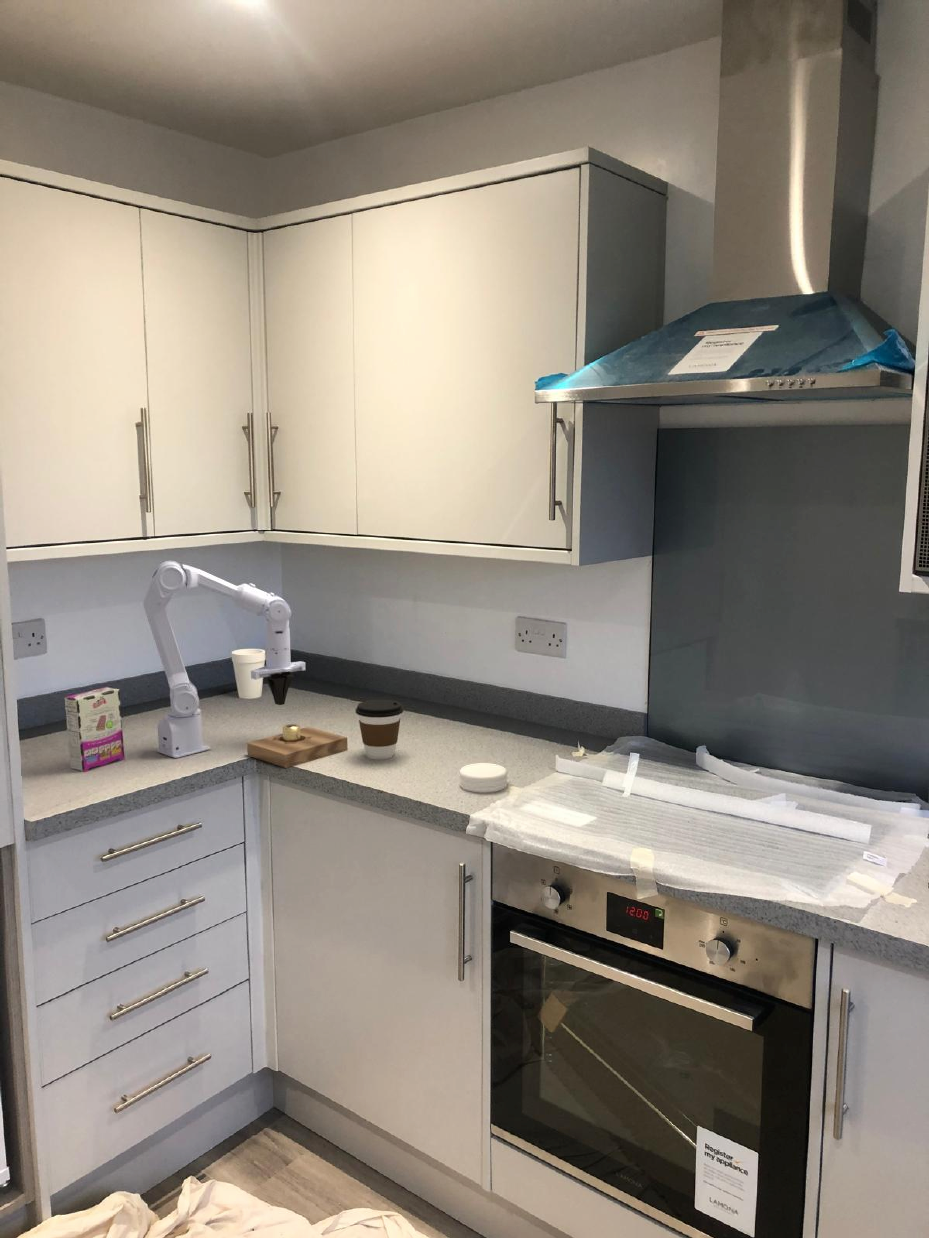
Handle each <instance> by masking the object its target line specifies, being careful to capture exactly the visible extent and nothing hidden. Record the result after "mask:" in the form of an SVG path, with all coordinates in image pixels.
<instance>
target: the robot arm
mask: <svg viewBox="0 0 929 1238" xmlns="http://www.w3.org/2000/svg"><path fill="white" fill-rule="evenodd" d="M184 586H185V587H186V589H192V588H193V589H194V588H198V587H201V588H203V589H205V590H207V591H210V592H213V593H216V594H218V595H221V596H223V597H227V598H229V599H231V600H232V603H233V605H234V606H235V607H237V608H239V609H241V610H244V611H246V612H248V613H251V614H253V615H256V616H258V617H262V616H263V617H265V630H264V632H265V636H264V637H265V640H264V641H265V658H266V660H265V662H266V663H265V665H264V667H262V668H259V669H255V670H251V679H255V680H257V679H259V678H263V679H264V680H265V682H266V684H267V685H268V687H269V689H270V691H271V694H272V697H273V701H274V704H275V705H279V706H282V705H285V703H286V699H287V695H288V691H289V689H290V686H291V684H292V682H293V680H294V674H293V673H294V672H298V671H299V672H300V671H306V669H307V668H306V662H304V661H302V660H300V661H292V662H291V630H290V621H289V620H290V619H291V616H292V610H291V606H290V605H289V603H287V601H286V600H284V599H283V598H281V597H280V596H279V595H275V593H273V592H270V591H269V593H268V592H266V591H264V590H261V589H258V588H257V587H256V585H255V584H253V583H251V582H249V584H247V583H241V584H239V585H235V584H233V583H231V582H228V581H227V580H224V579H222V578H220V577H217V576H215V575H213V574H210V573H209V572H206V571H204V570H202V569H199V568H196V567H193V566H191V565H188V564H183V563H182V564H180V563H179V562H177V561H174V560H166V561H163V562H161V563H160V564H159V565H158V566H157V567H156V569H155V570H154V572H153V573H152V574H151V577H150V581H149V584H148V586H147V589H146V592H145V595H144V599H143V603H142V604H143V610H144V612H145V615H146V617H147V621H148V624H149V628H150V629H151V630H150V631H151V632H152V636H153V639H154V640H153V641H154V643H155V645H156V649H157V651H158V654H159V658H160V661H161V664H162V667H163V670H164V673H165V677H166V679H167V682H168V687H169V699H170V707H171V708H170V709H169V710H168V714H167V716H165V717H162V718H161V719H159V721H158V723H157V739H158V741H157V743H158V749H157V753H160V754H163V755H165V756H168V757H171V758H174V759H178V758H181V757H186V756H188V755H189V756H190V755H192V754H197V753H201V752H205V751H209V750H211V747H210V746H208V745H204V744H203V728H202V726H203V725H202V709H200V708H199V706H200V698H199V695H198V690H197V687H196V686H195V685H194V683H192V682H191V680H190V679H189V674H188V673H187V670H186V667H185V664H184V660H183V658H182V655H181V651H180V648H179V645H178V642H177V639H176V636H175V632H174V629H173V626H172V624H171V620H170V617H169V614H168V611H167V608H166V607H167V606H168V604H169V603H170V601H171V600H172V598H173V596H174V595H176V594H177V593H178V592H179V591H180V590H181V589H183V588H184Z"/></svg>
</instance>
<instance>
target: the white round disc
mask: <svg viewBox="0 0 929 1238" xmlns="http://www.w3.org/2000/svg"><path fill="white" fill-rule="evenodd" d="M458 779H459V786H460V788H462V789H463V790H465V791H467V792H473V793H481V794H486V793H495V792H499V791H502V790H504V789H505V788H506V787H507V786H508V770H507V768H505V767H504V766H502V765H499V764H495V763H491V762H489V763H487V762H479V763H477V762H476V763H470V764H467V765H464V766H462V767H461V768H460V770H459V778H458Z"/></svg>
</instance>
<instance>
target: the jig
mask: <svg viewBox="0 0 929 1238" xmlns="http://www.w3.org/2000/svg"><path fill="white" fill-rule="evenodd" d="M300 738H301V741H298V742H283V733H280V734H275V735H271V736H268V737H265V738H264V737H263V738H260V739H256V740H253V741H249V742H247V743H246V744H247V749H246V750H247V756H248V757H251V758H255V759H256V760H257V759H258V760H261V761H264V762H268V763H270V764H273V765H277V766H279V767H281V768H285V769H287V768H290V767H294V766H297V765H300V764H305V763H307V762H311V761H314V760H317V759H321V758H323V757H328V756H331V755H334V754H338V753H342V752H344V751H348V737H346V736H343V735H339V734H336V733H332V732H329V731H325V730H322V729H318V728H313V727H311V726H306V727H302V728H300Z"/></svg>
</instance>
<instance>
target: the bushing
mask: <svg viewBox="0 0 929 1238" xmlns="http://www.w3.org/2000/svg"><path fill="white" fill-rule="evenodd" d="M300 729H301V725H300V724H298V723H287V724H283V725H282V734H283V742H298V741H301V738H300Z"/></svg>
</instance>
